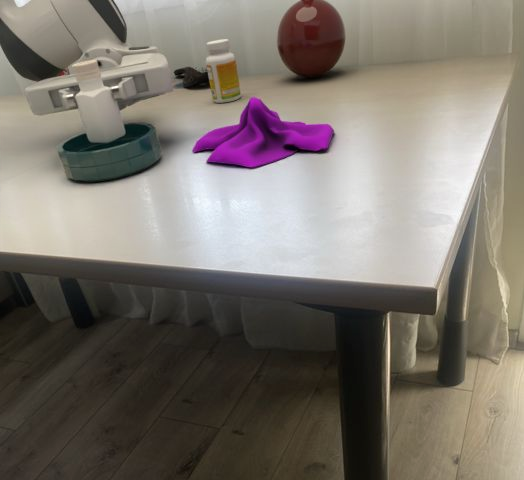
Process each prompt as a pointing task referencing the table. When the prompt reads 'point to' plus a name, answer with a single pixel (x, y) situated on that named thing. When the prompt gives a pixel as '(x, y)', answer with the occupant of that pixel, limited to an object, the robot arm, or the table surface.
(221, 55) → the supplement bottle
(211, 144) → the cloth
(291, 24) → the red balloon
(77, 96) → the pepper shaker
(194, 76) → the black glove
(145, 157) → the bowl
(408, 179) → the table surface
